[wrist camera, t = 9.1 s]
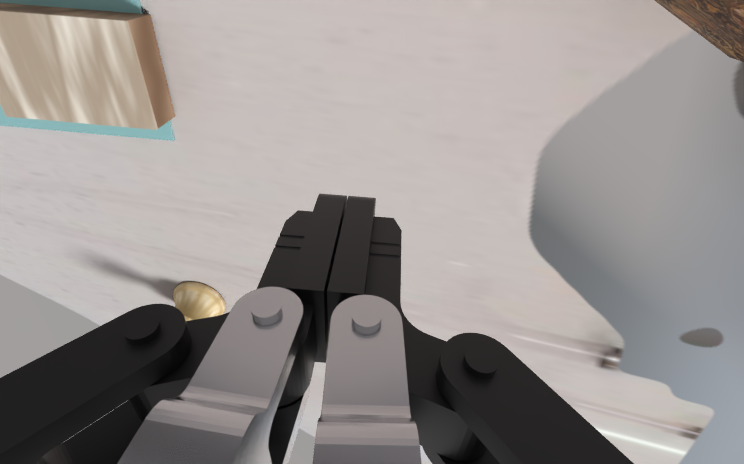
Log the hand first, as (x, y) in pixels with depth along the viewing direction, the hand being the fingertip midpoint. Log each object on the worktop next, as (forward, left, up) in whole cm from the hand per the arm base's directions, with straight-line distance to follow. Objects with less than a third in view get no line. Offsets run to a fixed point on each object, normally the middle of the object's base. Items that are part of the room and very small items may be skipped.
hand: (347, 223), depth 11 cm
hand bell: (+10, -48, -33) cm, 59 cm away
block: (-12, -20, -30) cm, 39 cm away
